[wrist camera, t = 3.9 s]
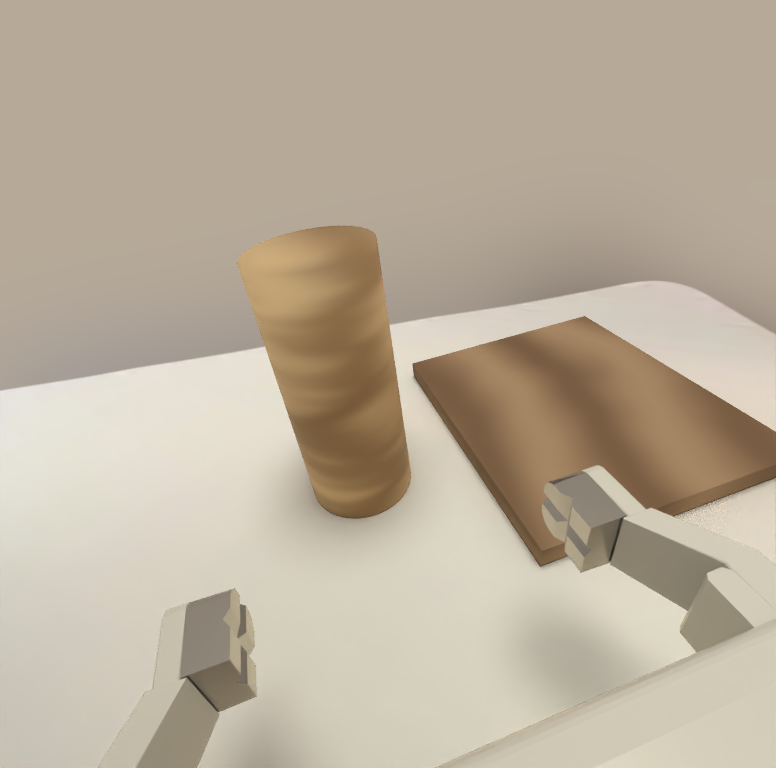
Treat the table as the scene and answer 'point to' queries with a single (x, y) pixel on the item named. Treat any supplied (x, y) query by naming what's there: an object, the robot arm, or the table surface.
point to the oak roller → (333, 362)
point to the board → (590, 424)
